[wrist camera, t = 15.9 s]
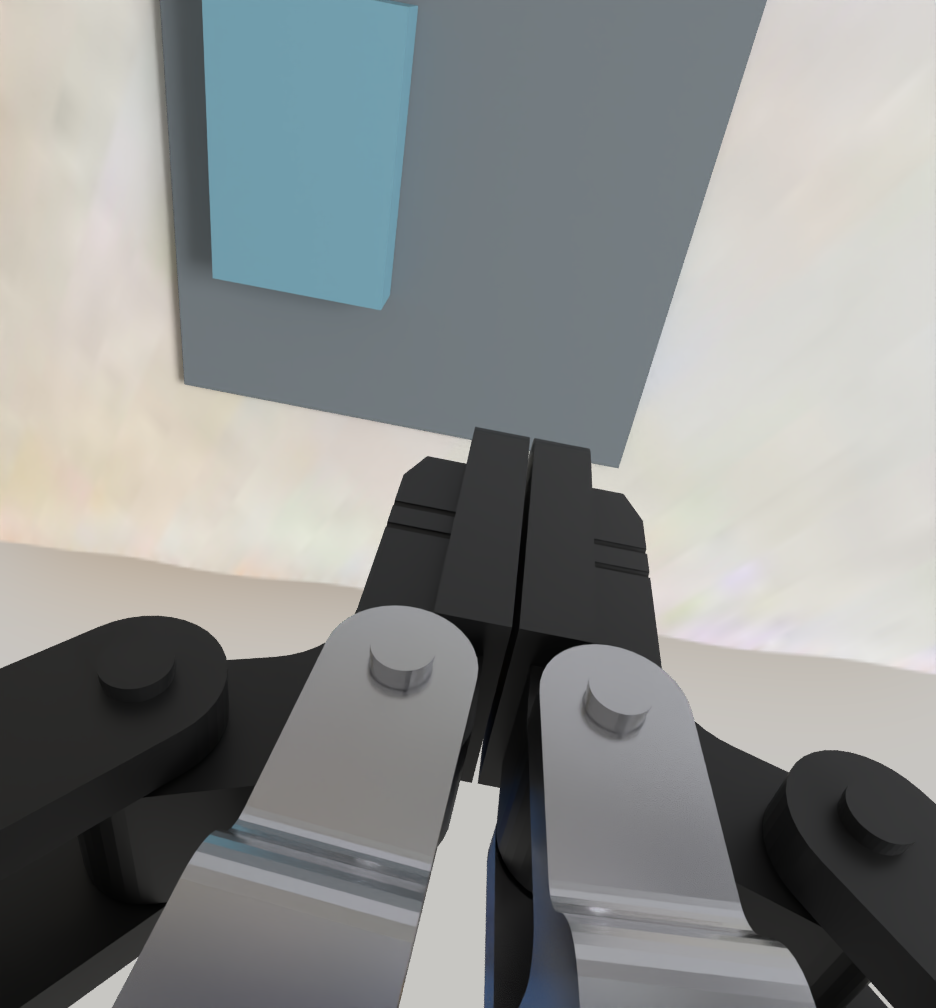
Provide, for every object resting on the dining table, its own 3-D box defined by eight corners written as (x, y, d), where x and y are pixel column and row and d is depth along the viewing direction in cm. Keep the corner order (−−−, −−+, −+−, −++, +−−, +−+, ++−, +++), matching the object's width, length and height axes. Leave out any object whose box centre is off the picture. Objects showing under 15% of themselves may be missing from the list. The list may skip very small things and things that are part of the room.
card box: (418, 5, 23) (223, -32, 23) (408, 6, 22) (200, -33, 22) (390, 294, 28) (230, 263, 28) (380, 310, 27) (212, 278, 27)
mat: (147, -304, 20) (140, -308, 20) (819, -177, 20) (823, -180, 20) (188, 379, 32) (184, 384, 31) (617, 463, 31) (618, 468, 31)
